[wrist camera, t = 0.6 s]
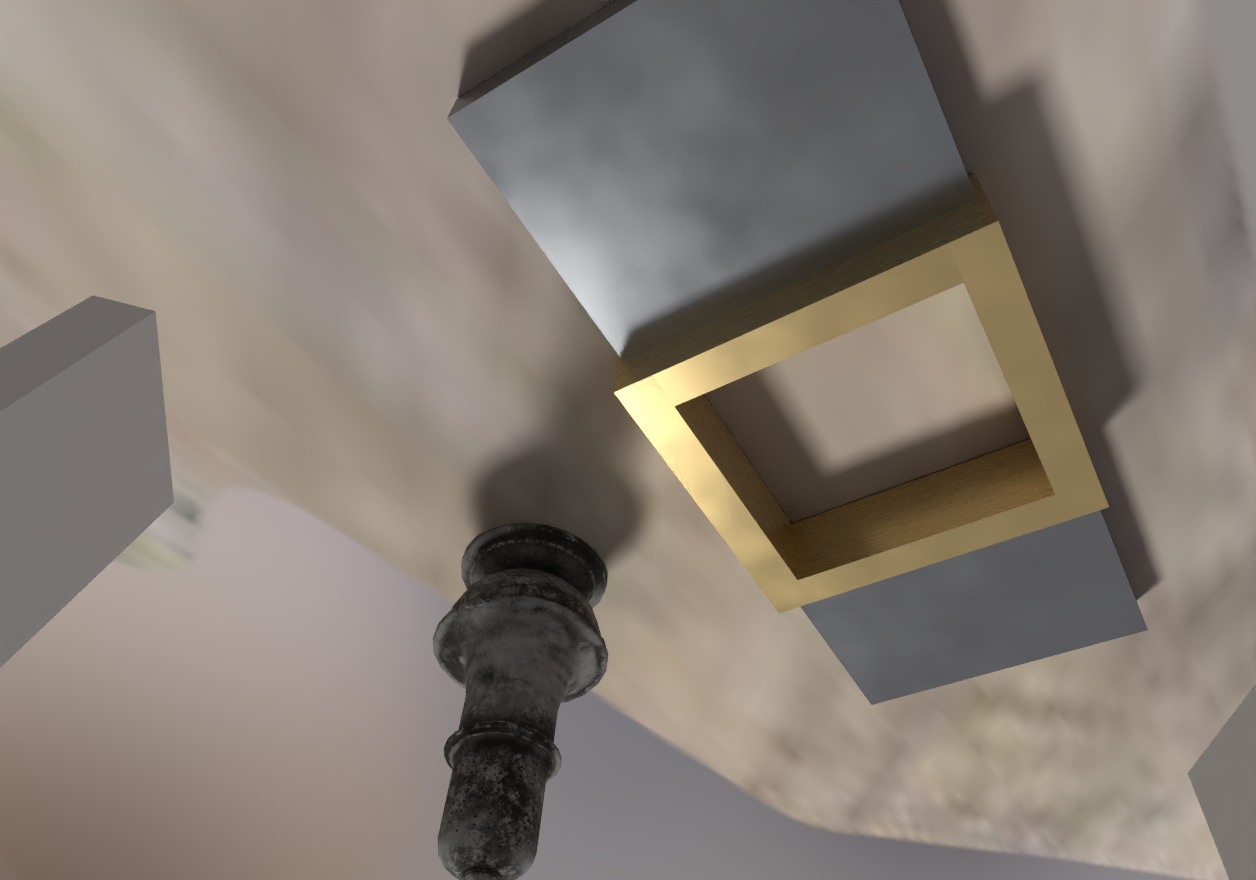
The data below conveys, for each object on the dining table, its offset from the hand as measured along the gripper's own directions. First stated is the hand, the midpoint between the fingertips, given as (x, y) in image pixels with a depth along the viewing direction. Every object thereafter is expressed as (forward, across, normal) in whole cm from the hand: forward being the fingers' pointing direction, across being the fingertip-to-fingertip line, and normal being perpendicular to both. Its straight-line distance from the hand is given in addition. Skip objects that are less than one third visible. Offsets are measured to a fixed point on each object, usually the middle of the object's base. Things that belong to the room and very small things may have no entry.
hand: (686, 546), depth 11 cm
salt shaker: (+18, -5, -16) cm, 24 cm away
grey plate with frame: (+17, +4, -6) cm, 19 cm away
